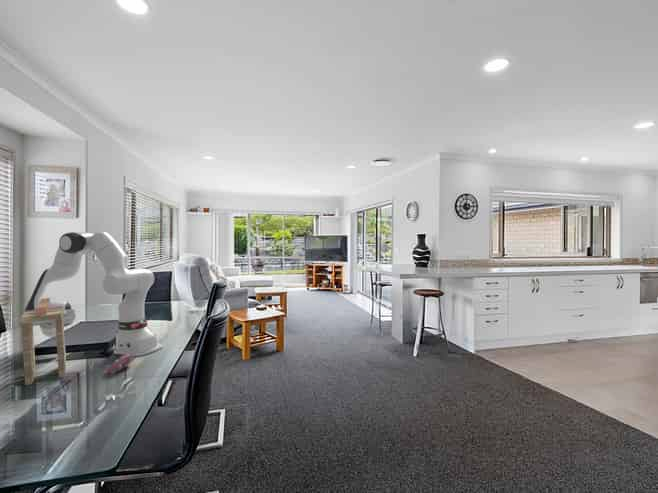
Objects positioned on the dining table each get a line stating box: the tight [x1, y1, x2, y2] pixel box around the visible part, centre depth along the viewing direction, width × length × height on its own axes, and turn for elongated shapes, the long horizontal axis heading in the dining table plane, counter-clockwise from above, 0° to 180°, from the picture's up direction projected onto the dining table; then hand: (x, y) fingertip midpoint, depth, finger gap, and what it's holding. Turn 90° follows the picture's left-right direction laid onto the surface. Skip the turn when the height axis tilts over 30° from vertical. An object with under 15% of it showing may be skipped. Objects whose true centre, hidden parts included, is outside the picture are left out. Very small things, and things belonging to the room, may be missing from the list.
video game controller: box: [106, 354, 135, 374], centre depth 140 cm, size 10×5×7 cm, turn 169°
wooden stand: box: [19, 306, 67, 386], centre depth 135 cm, size 16×12×26 cm
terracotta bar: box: [36, 297, 51, 315], centre depth 139 cm, size 22×3×3 cm, turn 37°
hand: (48, 312), depth 154 cm, fingers open, 8 cm apart
